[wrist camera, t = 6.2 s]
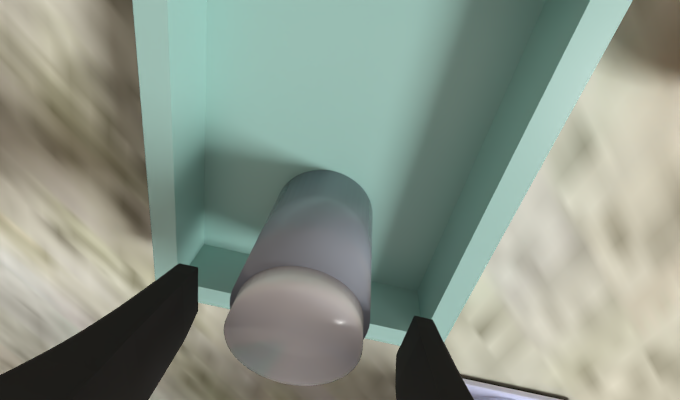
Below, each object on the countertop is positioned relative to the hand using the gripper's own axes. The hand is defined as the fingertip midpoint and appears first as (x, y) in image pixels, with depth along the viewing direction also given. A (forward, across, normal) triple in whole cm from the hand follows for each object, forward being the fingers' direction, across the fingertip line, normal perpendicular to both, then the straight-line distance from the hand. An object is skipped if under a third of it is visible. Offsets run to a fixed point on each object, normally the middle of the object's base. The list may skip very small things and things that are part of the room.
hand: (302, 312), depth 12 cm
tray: (+6, 0, -4) cm, 7 cm away
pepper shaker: (+5, 0, 0) cm, 5 cm away
